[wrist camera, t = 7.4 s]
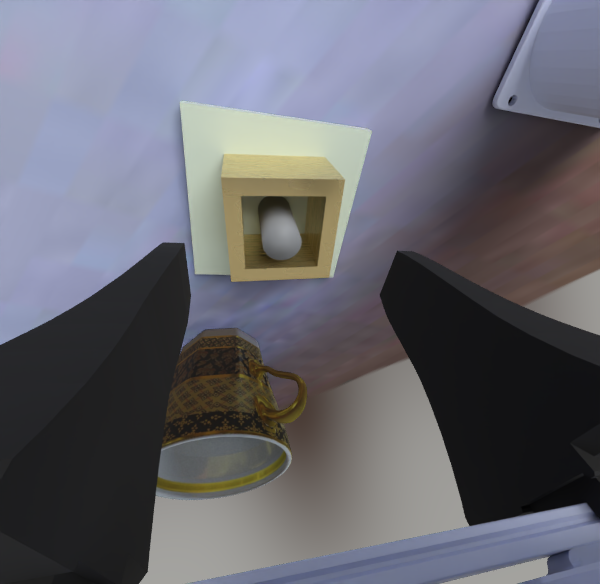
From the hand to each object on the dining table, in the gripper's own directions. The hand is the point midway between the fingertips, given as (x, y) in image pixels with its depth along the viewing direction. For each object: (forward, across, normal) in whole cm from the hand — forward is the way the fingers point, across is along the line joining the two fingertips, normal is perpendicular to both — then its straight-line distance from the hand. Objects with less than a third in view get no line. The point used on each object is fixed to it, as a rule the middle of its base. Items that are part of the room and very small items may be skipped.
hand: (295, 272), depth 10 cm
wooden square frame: (+9, 0, +1) cm, 9 cm away
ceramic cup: (+10, +2, +15) cm, 18 cm away
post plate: (+10, 0, +2) cm, 10 cm away
